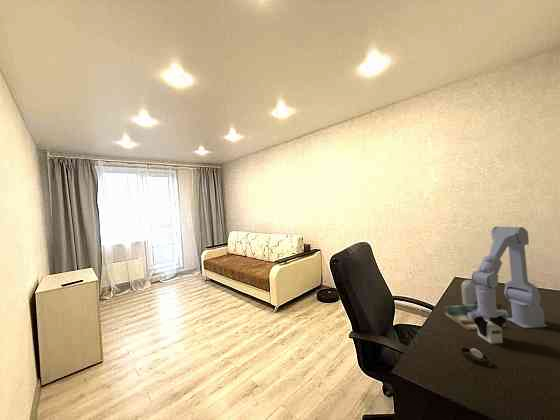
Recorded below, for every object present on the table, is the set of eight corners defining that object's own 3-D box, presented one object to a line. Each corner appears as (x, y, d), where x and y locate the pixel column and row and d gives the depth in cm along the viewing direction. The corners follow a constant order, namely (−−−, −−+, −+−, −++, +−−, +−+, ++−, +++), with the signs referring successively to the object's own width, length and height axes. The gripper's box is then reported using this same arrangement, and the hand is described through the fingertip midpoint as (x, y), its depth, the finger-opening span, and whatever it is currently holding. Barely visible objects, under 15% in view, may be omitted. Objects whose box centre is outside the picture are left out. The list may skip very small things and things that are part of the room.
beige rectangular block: (488, 334, 93) (487, 320, 93) (504, 343, 86) (502, 328, 86) (477, 335, 93) (476, 320, 93) (492, 344, 86) (490, 329, 86)
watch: (491, 363, 77) (490, 352, 77) (487, 369, 75) (486, 358, 75) (464, 352, 84) (463, 342, 84) (459, 357, 81) (458, 347, 81)
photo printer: (468, 299, 125) (466, 277, 125) (478, 301, 121) (475, 279, 121) (461, 305, 119) (459, 282, 119) (471, 307, 116) (469, 284, 116)
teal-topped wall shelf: (478, 312, 110) (477, 303, 110) (505, 327, 96) (504, 316, 96) (445, 314, 111) (444, 305, 111) (468, 329, 97) (467, 319, 97)
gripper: (495, 296, 94) (498, 327, 94) (460, 298, 94) (463, 330, 94) (512, 303, 87) (515, 337, 87) (474, 305, 87) (477, 340, 87)
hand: (489, 334), depth 90 cm, fingers closed on beige rectangular block, 4 cm apart
